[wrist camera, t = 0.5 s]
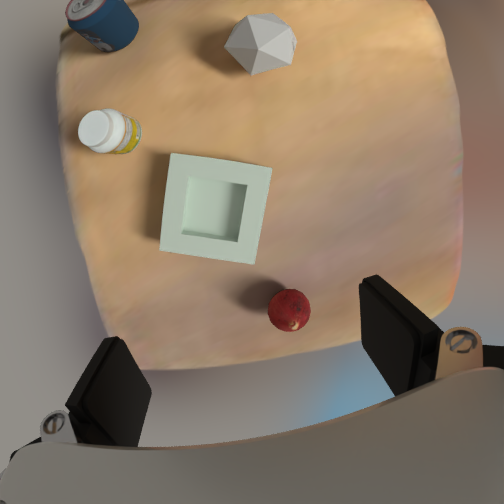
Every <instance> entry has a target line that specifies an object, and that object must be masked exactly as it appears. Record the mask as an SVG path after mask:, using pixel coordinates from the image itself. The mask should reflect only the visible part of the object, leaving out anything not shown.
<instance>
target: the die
mask: <svg viewBox="0 0 504 504" xmlns="http://www.w3.org/2000/svg"><path fill="white" fill-rule="evenodd" d="M296 43H297V40H296V38H295V36H294V33H293V31H292V29H291V27H290V26H289V25H287V24H286V23H285V22H284V21H282V20H281V19H280V18H279V17H277V16H276V15H275V14H273V13H269V14H257V15H247V16H246V17H244V18H243V19H242V20H241V21H239V22H238V23H237V24H236V25H235V26H234V28H233V30H232V32H231V34H230V36H229V38H228V40H227V42H226V44H225V46H224V48H225V49H226V50H227V51H228V52H229V53H230V54H231V55H232V56H233V57H234V58H235V59H236V60H237V61H238V62H239V63H240V64H241V65H242V66H243V68H244V69H245V70H246V71H247V72H248V73H249V74H250V75H254V74H258V73H261V72H265V71H268V70H272V69H276V68H280V67H284V66H288V65H291V62H292V58H293V54H294V50H295V47H296Z"/></svg>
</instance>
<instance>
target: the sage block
mask: <svg viewBox="0 0 504 504" xmlns="http://www.w3.org/2000/svg"><path fill="white" fill-rule="evenodd" d="M271 173H272V168H269V167H264V166H259V165H253V164H247V163H241V162H235V161H229V160H222V159H215V158H208V157H201V156H193V155H184V154H176V153H171V157H170V163H169V170H168V177H167V184H166V191H165V200H164V208H163V217H162V227H161V238H160V251H167V252H173V253H180V254H186V255H193V256H200V257H206V258H213V259H220V260H227V261H233V262H240V263H247V264H255V258H256V253H257V248H258V243H259V237H260V232H261V227H262V221H263V216H264V211H265V205H266V200H267V195H268V189H269V184H270V179H271Z"/></svg>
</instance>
